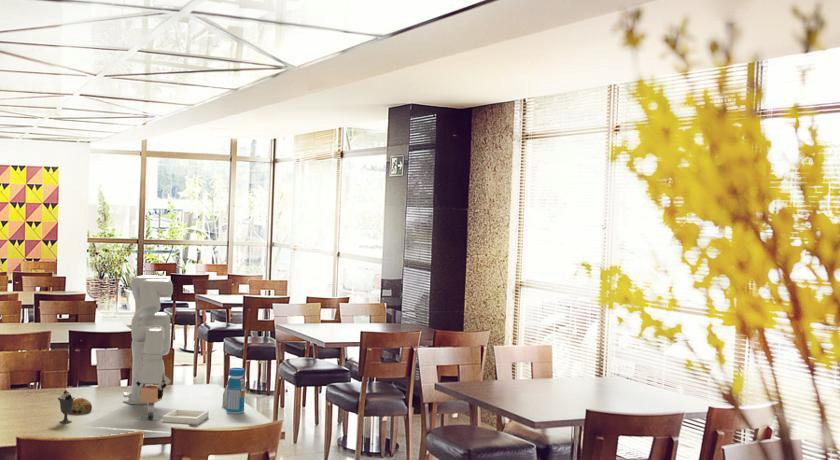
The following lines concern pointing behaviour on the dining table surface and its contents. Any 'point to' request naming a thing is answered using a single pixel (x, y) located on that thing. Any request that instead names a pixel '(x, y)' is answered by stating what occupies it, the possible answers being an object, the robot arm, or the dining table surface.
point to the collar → (149, 394)
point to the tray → (186, 416)
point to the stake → (150, 414)
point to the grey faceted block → (225, 397)
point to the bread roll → (80, 406)
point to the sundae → (66, 405)
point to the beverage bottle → (235, 391)
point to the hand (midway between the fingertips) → (151, 397)
